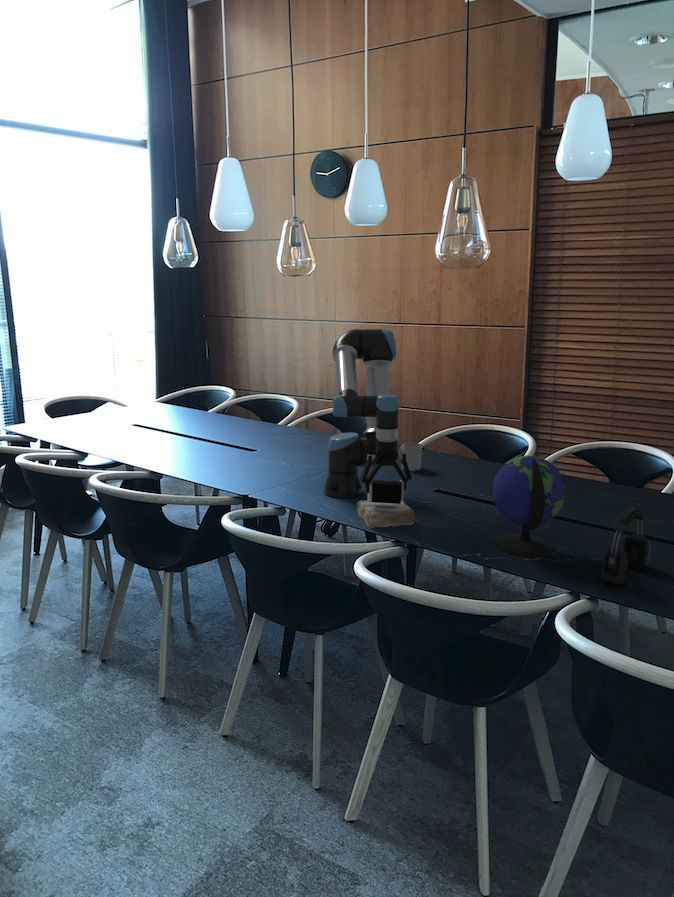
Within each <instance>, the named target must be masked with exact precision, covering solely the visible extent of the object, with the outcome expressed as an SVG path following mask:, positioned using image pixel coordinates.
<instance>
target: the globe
mask: <svg viewBox="0 0 674 897" xmlns="http://www.w3.org/2000/svg"><path fill="white" fill-rule="evenodd" d="M491 490H492V497H493V502H494V503H495V504H494V505H495V506H496V508H497V509H498V512H499V513H500V514H501V515H503V517H504V518H505V519H507V520H508V521H510V522H511V523H513V524H516V525H519V526H522V528H521V530H520V533H517V534H514V533H513V534H508V535H504V536H501V537H500V538H499V539H498V540H497V542H496V544H495V545H496V547H497V549H498V550H500V551H502V552H503V553H506V554H509V555H511V556H517V557H524V558H539V557H545V556H548V555H550V554H551V553H552V552H553V546H552V544H551V543H550V542H548V540H546V539H544V538H541V537H538V536H537V535H536V536H535V535H531V533H530V531H533V530H536V529H538V528H539V527H540V525H543V524H546V523H547V522H549V521H551V520H552V519H553V518H554V517H555V516H557V514H559V512H560V510H561V509H562V507H563V505H564V503H565V494H566V493H565V492H566V490H565V482H564V477H563V476H562V474H561V472H560V471H559V469H558V468H557V467H556V466H555V465H554V464H552V463H551V461H548V460H547V459H545V458H542V457H540V456H537V455H528V454H527V455H520V456H516V457H513V458H511V459H510V460H508V461H506V462H505V463H504V464H503V465H502V466H501V467H500V469H499V470H498V471H497V474H495V477H494V481H493V483H492V486H491ZM549 553H550V554H549Z"/></svg>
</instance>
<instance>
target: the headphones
mask: <svg viewBox="0 0 674 897" xmlns="http://www.w3.org/2000/svg"><path fill="white" fill-rule="evenodd" d="M641 511H642V510H640V509H639V508H634V507H628V508H626V509H625V510H624V511H623V512H622V513H621V514H620V515H619V517H618V518H617V520H616V522H615V524H614V526H613V530H614V531H615V534H614V537H613V540H612V544H611V548H608V549H607V550H606V551H605V552H604V554H603V560H602V566H601V572H600V578H601V580H602V581H603V582H606V583H610V584H613V585H616V586H622V585H624V584H626V582H627V579H628V572H629V568H631V567H632V569H635V568H636V569H635V570H641V569H644V568H645V566H646V564H647V562H648V561H647V560H648V550H649V541H648V539H647V538H646V536H645V535H644V534H643V529H644V528H643V527H644V525H643V521H644V519H645V515H644V513H642V512H641ZM634 519H635V520H636V522H637V528H636V529H637V531H636V534H635V533H633V534H628V535H626V536H625V538H624V540H623V546H622V547H623V548H622V550H621V549H618V545H619V541H620V538H621V535H622V534H626V532H627V530H628V528H629V526H630V524H631V523H632V522H633V521H634ZM617 535H618V536H617ZM616 538H617V539H616ZM615 542H616V543H615ZM628 566H629V567H628Z"/></svg>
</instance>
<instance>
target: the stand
mask: <svg viewBox="0 0 674 897" xmlns="http://www.w3.org/2000/svg"><path fill="white" fill-rule="evenodd" d="M357 513H358V514H359V515H358V514H357ZM356 514H357V515H358V517H359V518H360V517H361V518H362V519H363V520H364V521H365V522H366V523H365V522H364V521H363V520H362V519H361V518H360V519H361V520H362V521H363V522H364V523H365V524H366V525H367V527H370V528H369V529H376V528H375V527H381V528H390V527H389V526H392V527H401V526H400V525H404V526H411V525H412V524H414V525H415V516H416V515H415V514H416V512H415V511H414V510H413V509H412V508H411V507H409V506H408V505H407V504H406V503H405V502H404V500H401V504H392V503H375V502H369V501H368V500H367V499H365V500H358V501H357V502H356ZM412 526H413V525H412Z"/></svg>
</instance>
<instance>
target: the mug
mask: <svg viewBox="0 0 674 897" xmlns="http://www.w3.org/2000/svg"><path fill="white" fill-rule="evenodd" d="M422 447H423V446H422V444H421V443H419V442H412V441H411V442H410V441H409V442H404V443H402V445H401V446H400V447H399V448H398V449H399V450H398V453H401V452H403V453H405V454H406V461H407V464H408V467H409V471H410V472H416V471H415V470H418V471H420V470H421V469H422V451H423V450H422V449H423V448H422ZM403 469H404V468H403V465H402V464H401V470H403ZM419 469H420V470H419Z"/></svg>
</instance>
